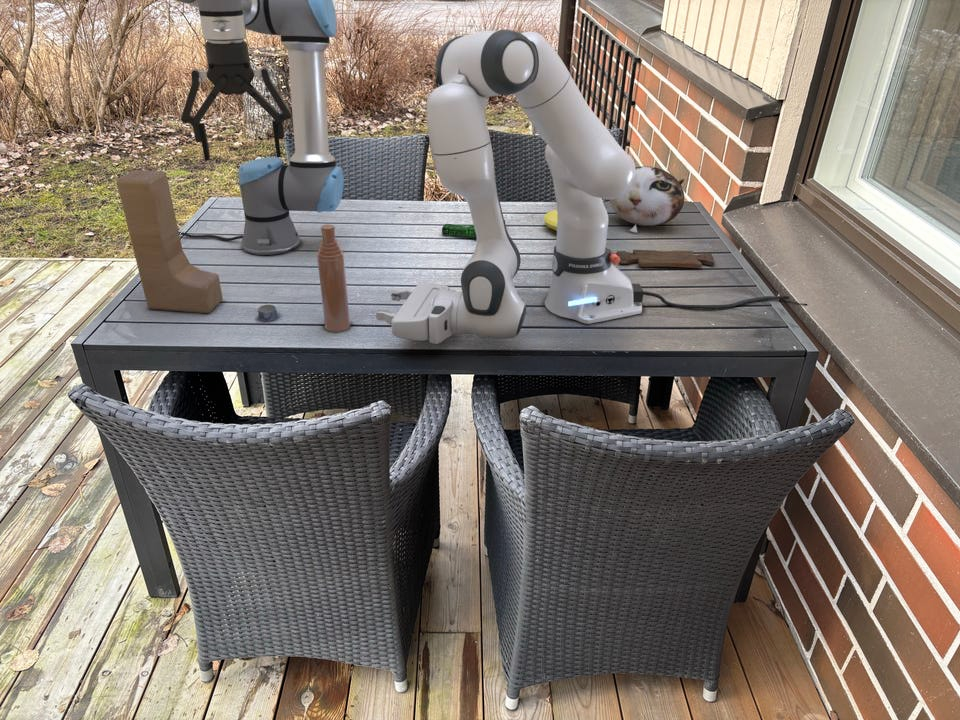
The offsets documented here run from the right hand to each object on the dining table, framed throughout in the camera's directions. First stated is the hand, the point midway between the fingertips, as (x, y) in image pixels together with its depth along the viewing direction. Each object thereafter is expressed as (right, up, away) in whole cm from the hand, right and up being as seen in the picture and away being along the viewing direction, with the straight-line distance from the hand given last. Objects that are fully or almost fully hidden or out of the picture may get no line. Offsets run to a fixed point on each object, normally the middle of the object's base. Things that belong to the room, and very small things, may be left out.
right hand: (385, 304), depth 152 cm
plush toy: (+69, +29, +63) cm, 98 cm away
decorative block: (-48, +1, +13) cm, 49 cm away
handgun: (+19, +25, +56) cm, 65 cm away
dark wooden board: (+70, +14, +39) cm, 81 cm away
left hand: (-27, +29, -10) cm, 40 cm away
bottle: (-11, -4, +6) cm, 13 cm away
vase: (+47, +27, +59) cm, 80 cm away
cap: (-27, -1, +8) cm, 28 cm away
